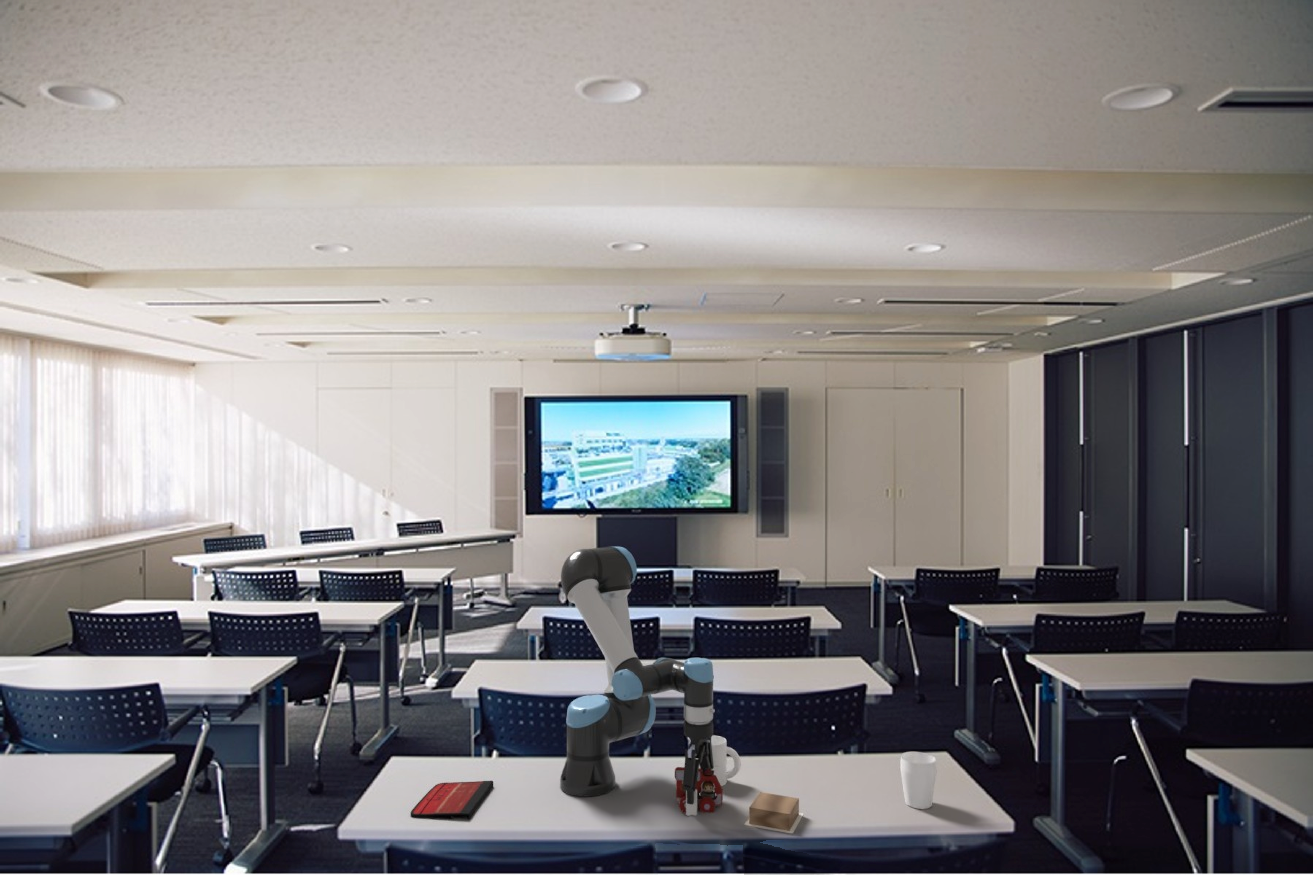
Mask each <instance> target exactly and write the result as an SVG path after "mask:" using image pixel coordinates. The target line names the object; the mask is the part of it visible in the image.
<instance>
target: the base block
mask: <svg viewBox="0 0 1313 875" xmlns="http://www.w3.org/2000/svg"><path fill="white" fill-rule="evenodd" d="M799 805H800V798H799V797H793V796H787V795H781V794H773V793H769V792H762V791H759V793H758V794H757V795H756V797H755V798H754V800H753V801H752V803H751V804H750V806H749V807H748V808H749V810H748V813H749V816H748V819H749V824H753V825H759V826H764V827H770V828H776V829H781V830H787V831H790V829H791V827H792V826H793V824H794V822H795V820H796V819H797V817H798V815H799V813H800V806H799Z"/></svg>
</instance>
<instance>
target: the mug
mask: <svg viewBox="0 0 1313 875" xmlns="http://www.w3.org/2000/svg"><path fill="white" fill-rule="evenodd" d="M727 744H728V743H727V739H726V738H725V737H724V736H720V735H715V734H713V736H712V737H711V745H712V755H713V766H714V768H713V769H711V770H714V775H716V777H717V779H718V781H719V783H720V785H721V787H723V786H725V785H726V784H727V782H728V781H727V780H728V779H732V778H733V777H735V776H736V775H738V773H739V772H740V771H741V766H742V761H741V757H740V755H739V754H738V752H737V751H736V750H735V749H733V748H732V747H730V746H727ZM727 756H730V757H731V758H732V760H733V767H732V768H731V769H730V770H729V771H727V769H728V767H727V763H728V762H727V761H728V759H727V758H728V757H727ZM699 768H700V764H699ZM700 769H701V768H700ZM714 789H715V786H714V788H713V790H714Z"/></svg>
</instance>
